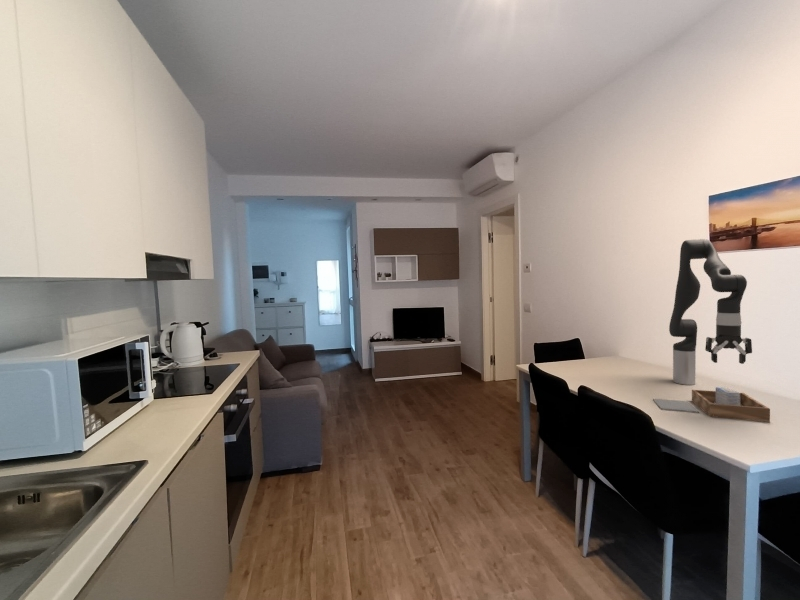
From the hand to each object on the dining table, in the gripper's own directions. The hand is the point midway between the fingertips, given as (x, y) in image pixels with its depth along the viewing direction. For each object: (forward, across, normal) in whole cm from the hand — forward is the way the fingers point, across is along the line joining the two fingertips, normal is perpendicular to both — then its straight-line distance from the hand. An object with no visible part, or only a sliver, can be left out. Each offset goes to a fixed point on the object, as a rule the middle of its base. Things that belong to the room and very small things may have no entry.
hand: (728, 362), depth 148 cm
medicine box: (+20, 0, 0) cm, 20 cm away
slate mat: (+20, +18, 0) cm, 27 cm away
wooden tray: (+20, 0, 0) cm, 20 cm away
